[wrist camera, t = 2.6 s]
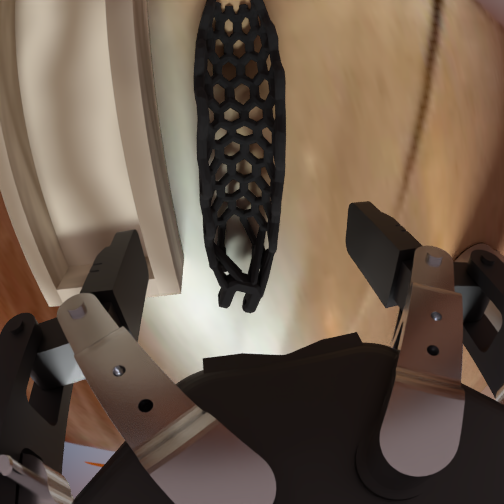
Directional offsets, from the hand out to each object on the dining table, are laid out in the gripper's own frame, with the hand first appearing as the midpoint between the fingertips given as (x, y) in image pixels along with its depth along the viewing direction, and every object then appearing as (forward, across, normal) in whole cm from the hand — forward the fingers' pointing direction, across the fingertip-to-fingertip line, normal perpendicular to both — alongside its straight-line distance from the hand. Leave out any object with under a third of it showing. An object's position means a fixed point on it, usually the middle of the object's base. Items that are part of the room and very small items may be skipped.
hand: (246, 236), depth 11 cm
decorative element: (+12, -1, 0) cm, 12 cm away
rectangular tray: (+11, +10, -6) cm, 16 cm away
